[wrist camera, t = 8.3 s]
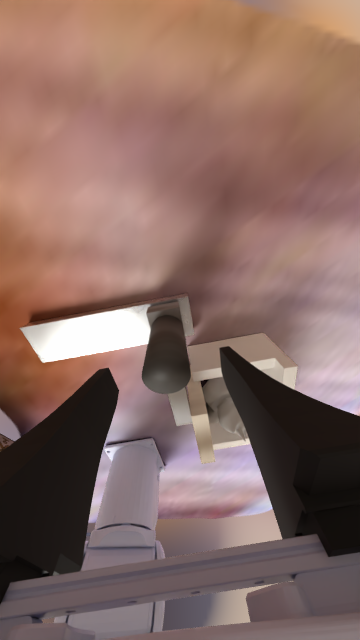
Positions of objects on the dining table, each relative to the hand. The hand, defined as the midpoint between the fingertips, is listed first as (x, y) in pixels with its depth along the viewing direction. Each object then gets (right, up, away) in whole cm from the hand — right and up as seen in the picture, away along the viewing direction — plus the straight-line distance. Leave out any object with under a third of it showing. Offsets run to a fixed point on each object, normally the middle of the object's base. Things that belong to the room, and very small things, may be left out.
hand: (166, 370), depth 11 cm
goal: (+7, -5, +12) cm, 15 cm away
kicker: (+1, -2, +10) cm, 10 cm away
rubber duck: (+6, -5, +13) cm, 15 cm away
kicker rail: (-6, +3, +8) cm, 10 cm away
